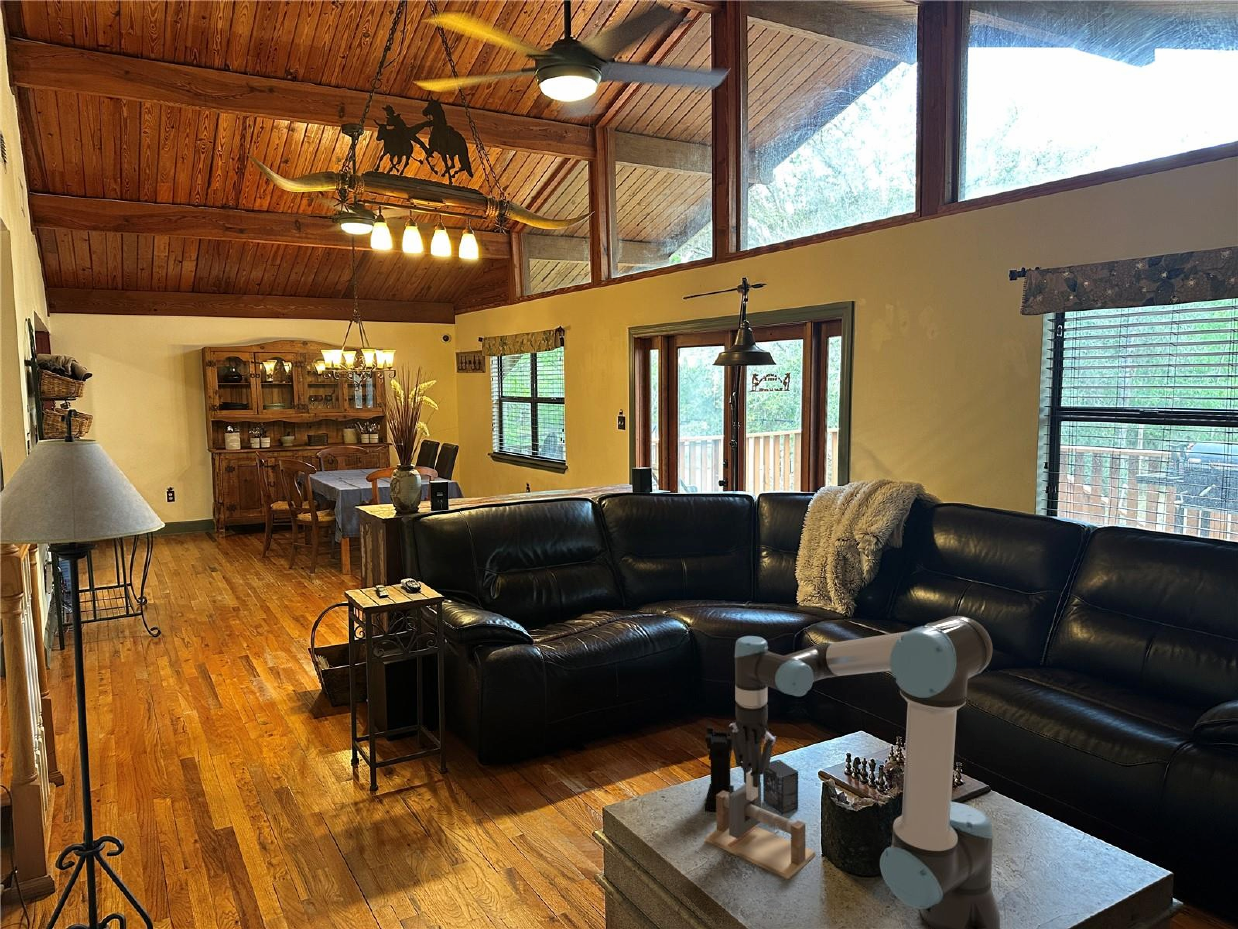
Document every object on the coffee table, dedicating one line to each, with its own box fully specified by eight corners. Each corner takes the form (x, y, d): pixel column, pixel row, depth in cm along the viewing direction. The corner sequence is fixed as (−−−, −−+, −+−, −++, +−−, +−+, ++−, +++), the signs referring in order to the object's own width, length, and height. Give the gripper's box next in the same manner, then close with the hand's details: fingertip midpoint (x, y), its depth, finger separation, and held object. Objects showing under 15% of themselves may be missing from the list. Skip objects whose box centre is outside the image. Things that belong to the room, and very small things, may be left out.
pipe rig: (815, 855, 185) (815, 814, 184) (788, 879, 176) (788, 836, 175) (734, 820, 201) (733, 782, 200) (705, 841, 192) (705, 801, 191)
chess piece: (735, 814, 204) (734, 740, 202) (704, 811, 205) (703, 738, 203) (737, 798, 211) (736, 726, 210) (707, 796, 213) (706, 725, 211)
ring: (761, 821, 194) (761, 782, 193) (737, 839, 186) (737, 798, 185) (752, 818, 195) (752, 779, 194) (729, 835, 188) (728, 795, 187)
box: (762, 802, 209) (762, 763, 208) (779, 796, 212) (779, 758, 211) (781, 815, 203) (781, 776, 202) (799, 810, 205) (798, 771, 204)
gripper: (783, 704, 185) (784, 801, 187) (737, 691, 194) (738, 783, 196) (766, 714, 179) (766, 813, 181) (719, 700, 188) (720, 794, 190)
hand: (752, 797), depth 189 cm, fingers closed
